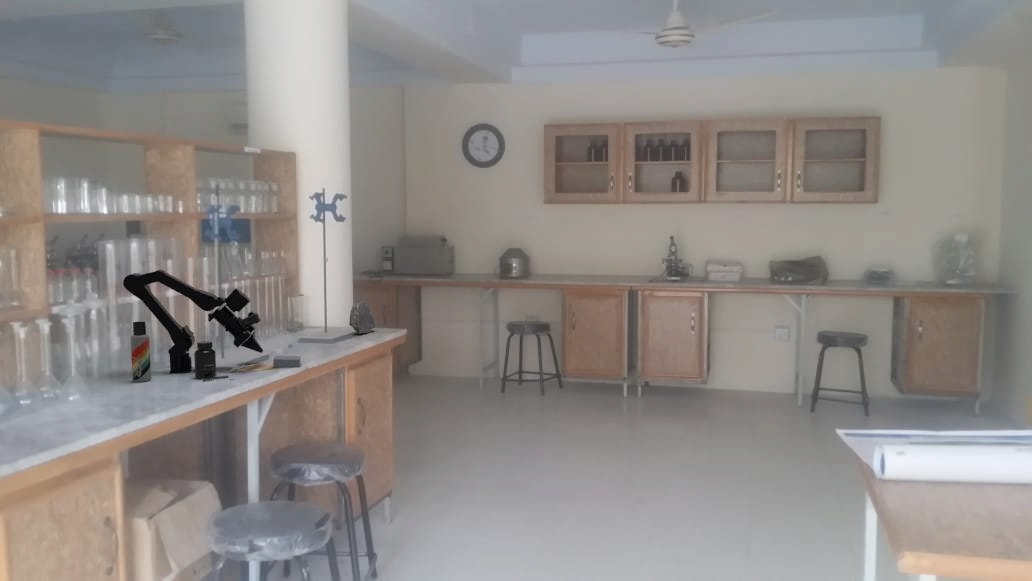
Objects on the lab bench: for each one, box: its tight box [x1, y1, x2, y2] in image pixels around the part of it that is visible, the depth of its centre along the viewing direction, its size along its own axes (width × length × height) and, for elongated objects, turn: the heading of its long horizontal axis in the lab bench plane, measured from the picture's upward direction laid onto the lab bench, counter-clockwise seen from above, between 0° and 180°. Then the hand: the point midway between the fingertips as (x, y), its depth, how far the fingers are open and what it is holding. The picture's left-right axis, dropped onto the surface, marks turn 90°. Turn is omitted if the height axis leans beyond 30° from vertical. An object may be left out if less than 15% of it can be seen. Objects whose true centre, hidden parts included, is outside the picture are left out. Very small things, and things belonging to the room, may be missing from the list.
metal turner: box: [202, 375, 235, 383], centre depth 277 cm, size 15×6×1 cm, turn 123°
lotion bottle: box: [130, 321, 152, 383], centre depth 273 cm, size 6×6×20 cm
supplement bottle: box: [193, 340, 217, 380], centre depth 279 cm, size 7×7×12 cm
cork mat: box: [229, 363, 278, 373], centre depth 294 cm, size 16×12×1 cm
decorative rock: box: [348, 300, 376, 334], centre depth 374 cm, size 16×7×15 cm, turn 157°
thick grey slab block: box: [272, 355, 302, 369], centre depth 296 cm, size 3×7×9 cm
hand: (262, 351), depth 294 cm, fingers closed
